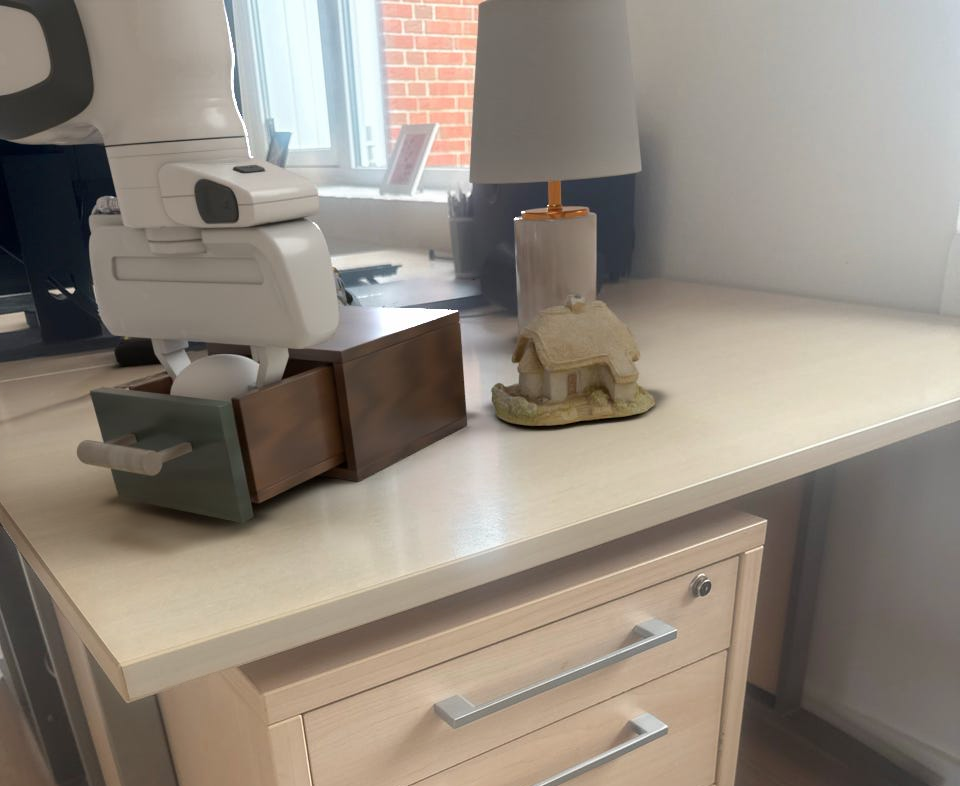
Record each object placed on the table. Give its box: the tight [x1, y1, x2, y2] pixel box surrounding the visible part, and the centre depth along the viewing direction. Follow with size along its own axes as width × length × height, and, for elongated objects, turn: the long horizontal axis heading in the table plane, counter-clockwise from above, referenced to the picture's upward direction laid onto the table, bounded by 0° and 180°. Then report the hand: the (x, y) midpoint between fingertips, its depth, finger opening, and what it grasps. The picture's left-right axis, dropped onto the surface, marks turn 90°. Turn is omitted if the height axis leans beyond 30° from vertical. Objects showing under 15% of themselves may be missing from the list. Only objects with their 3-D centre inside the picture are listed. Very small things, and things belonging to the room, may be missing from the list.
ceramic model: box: [490, 294, 656, 427], centre depth 80 cm, size 14×11×10 cm
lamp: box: [468, 0, 643, 335], centre depth 101 cm, size 19×19×34 cm
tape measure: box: [113, 336, 161, 367], centre depth 111 cm, size 7×7×4 cm
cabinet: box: [205, 306, 468, 482], centre depth 76 cm, size 16×14×10 cm
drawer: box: [76, 355, 347, 524], centre depth 66 cm, size 19×13×8 cm, turn 149°
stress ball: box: [170, 354, 259, 443], centre depth 66 cm, size 8×8×7 cm
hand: (229, 403), depth 66 cm, fingers closed on stress ball, 6 cm apart
